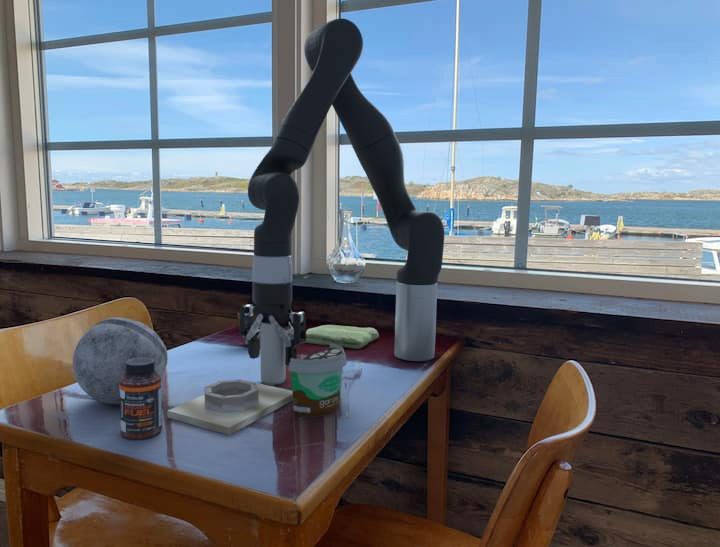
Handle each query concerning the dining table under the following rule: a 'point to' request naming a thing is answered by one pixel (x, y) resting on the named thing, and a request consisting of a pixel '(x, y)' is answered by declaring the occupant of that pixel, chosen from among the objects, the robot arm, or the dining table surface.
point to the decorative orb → (114, 355)
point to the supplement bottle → (140, 399)
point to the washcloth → (341, 336)
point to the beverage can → (272, 355)
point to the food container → (317, 382)
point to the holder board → (233, 418)
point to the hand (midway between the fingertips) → (271, 361)
